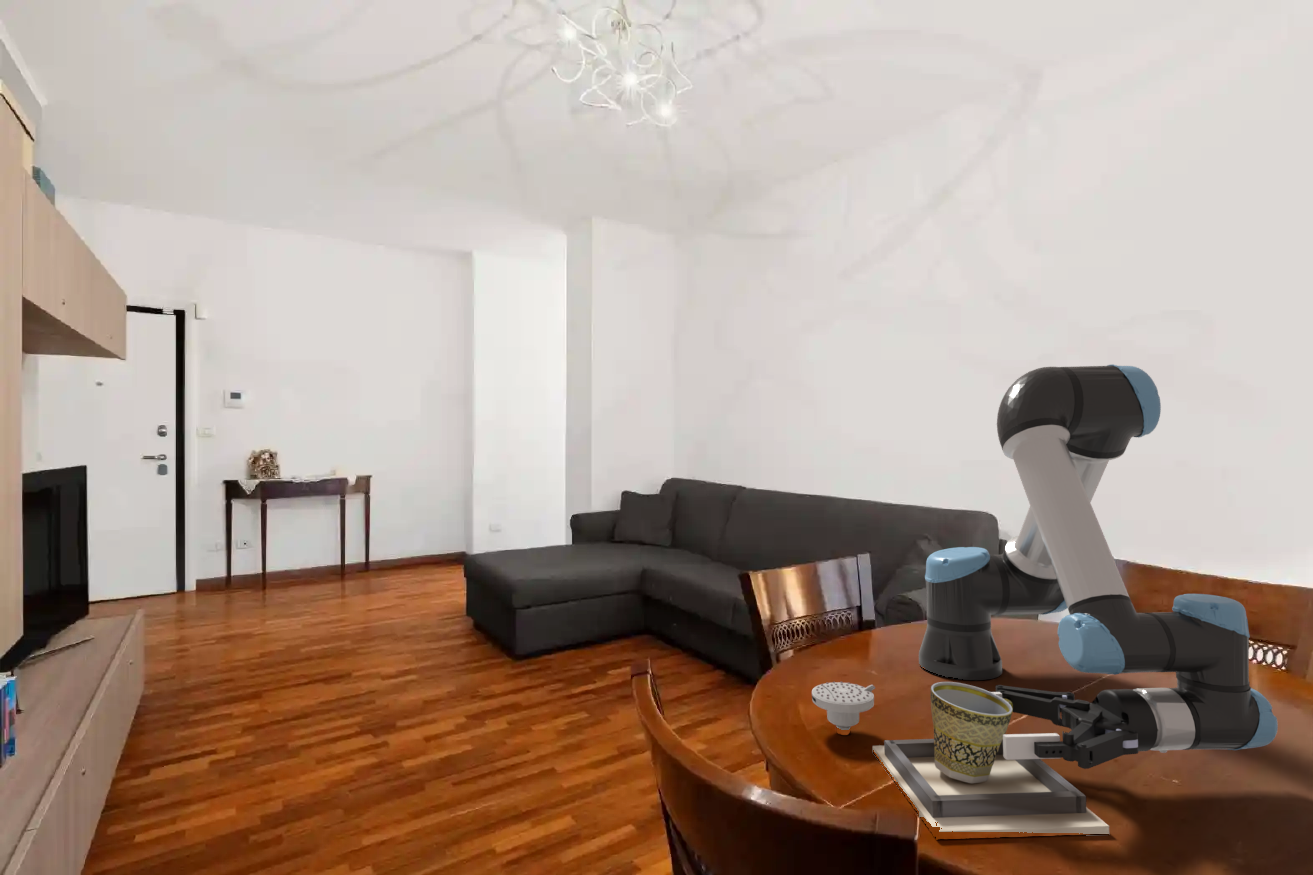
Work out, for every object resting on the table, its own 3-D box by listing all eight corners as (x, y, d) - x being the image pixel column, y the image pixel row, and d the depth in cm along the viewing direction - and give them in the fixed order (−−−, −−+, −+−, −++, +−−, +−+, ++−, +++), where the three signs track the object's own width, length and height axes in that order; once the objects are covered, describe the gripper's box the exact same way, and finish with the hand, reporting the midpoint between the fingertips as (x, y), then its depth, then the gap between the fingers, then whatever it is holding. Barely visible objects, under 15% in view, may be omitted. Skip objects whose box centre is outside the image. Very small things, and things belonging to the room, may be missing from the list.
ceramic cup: (962, 795, 85) (973, 717, 84) (904, 753, 94) (914, 683, 93) (1035, 784, 90) (1046, 710, 89) (973, 745, 99) (983, 678, 98)
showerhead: (887, 695, 103) (822, 699, 102) (888, 743, 103) (824, 748, 102) (863, 674, 112) (803, 677, 111) (864, 718, 112) (805, 722, 111)
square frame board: (872, 752, 100) (872, 732, 100) (1007, 748, 100) (1007, 727, 100) (936, 840, 78) (935, 813, 78) (1109, 834, 78) (1108, 808, 78)
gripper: (1219, 798, 77) (1031, 803, 77) (1080, 710, 102) (938, 714, 102) (1217, 731, 77) (1029, 736, 77) (1079, 660, 102) (937, 663, 102)
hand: (977, 723), depth 89 cm, fingers open, 13 cm apart
